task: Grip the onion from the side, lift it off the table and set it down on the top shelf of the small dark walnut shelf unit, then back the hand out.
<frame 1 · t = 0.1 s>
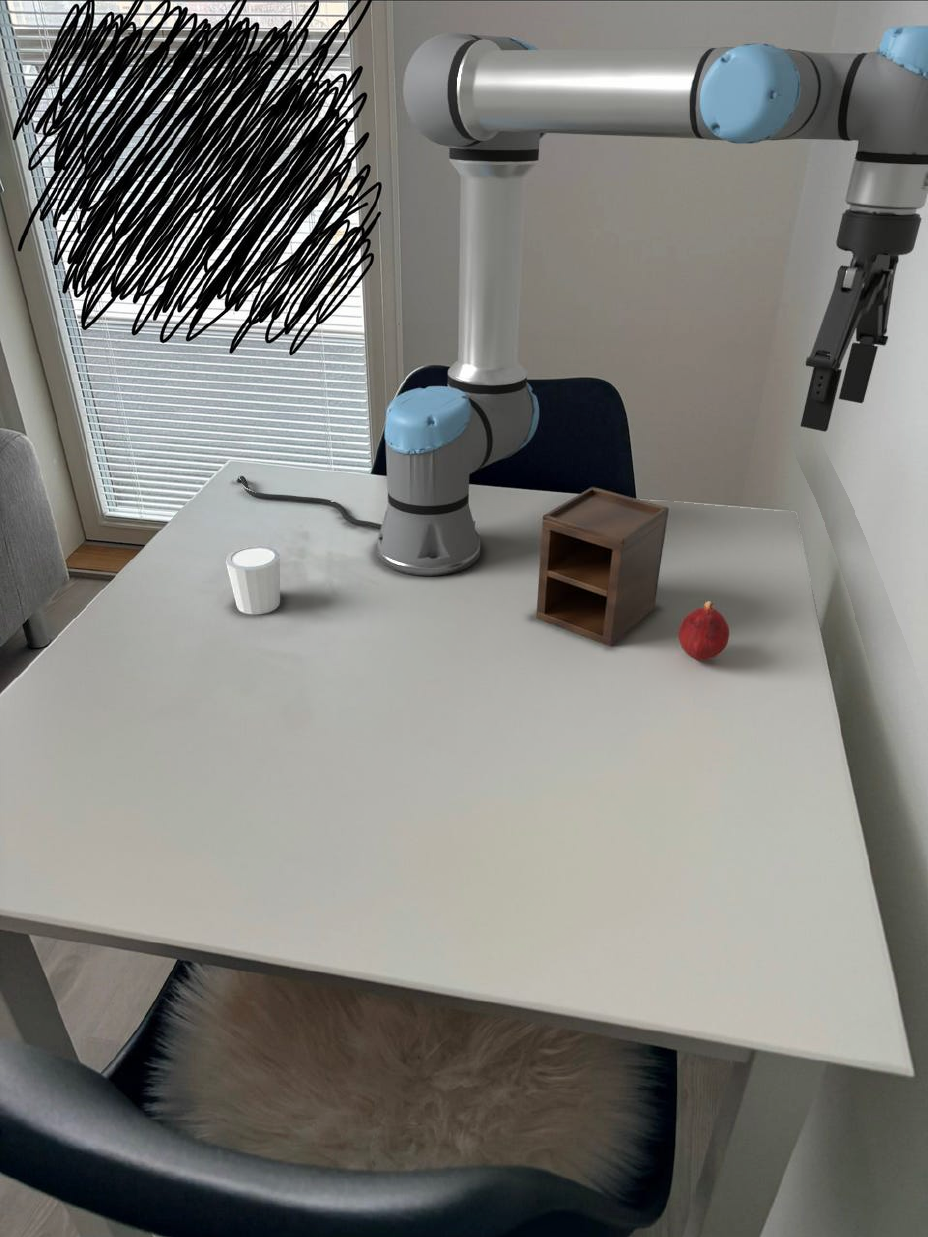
hand: (833, 414, 100), 28 cm above the table, tool pointing down, fingers open, 13 cm apart
shot glass: (258, 605, 117), on the table
shelf: (595, 613, 116), on the table
onion: (698, 661, 106), on the table
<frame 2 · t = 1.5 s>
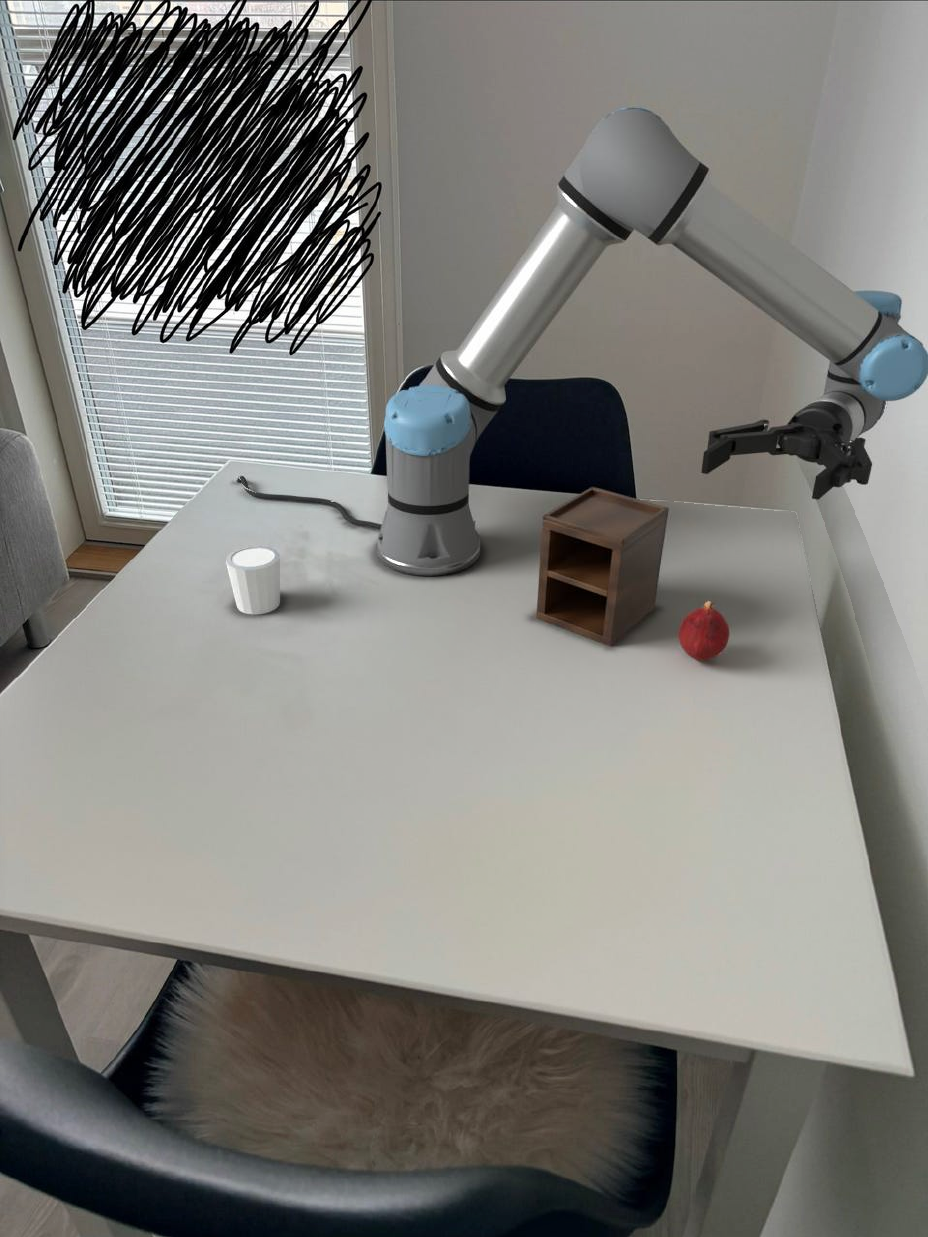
hand: (759, 475, 102), 21 cm above the table, tool horizontal, fingers open, 13 cm apart
nothing on the table moved.
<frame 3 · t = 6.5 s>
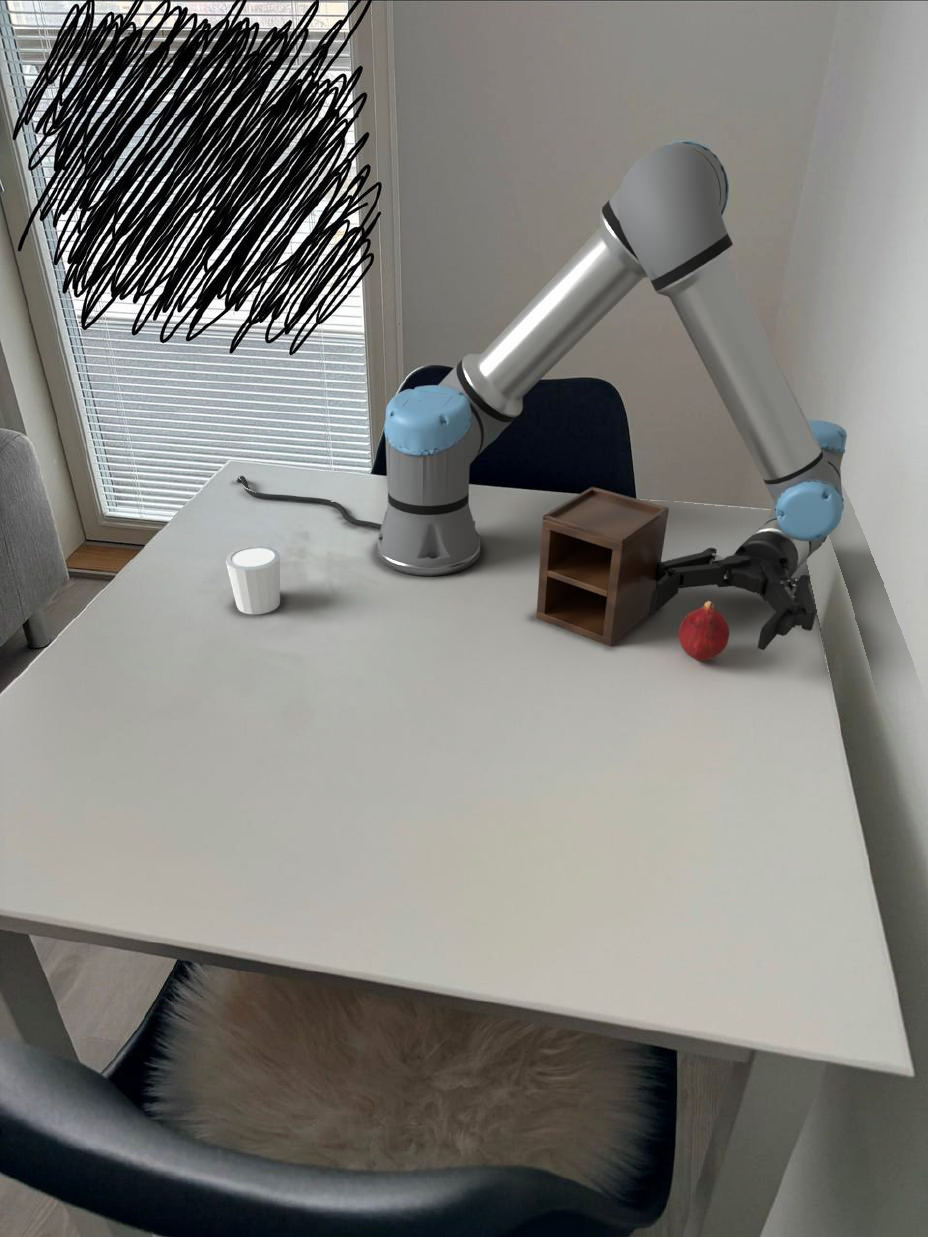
hand: (706, 620, 103), 6 cm above the table, tool horizontal, fingers open, 13 cm apart
nothing on the table moved.
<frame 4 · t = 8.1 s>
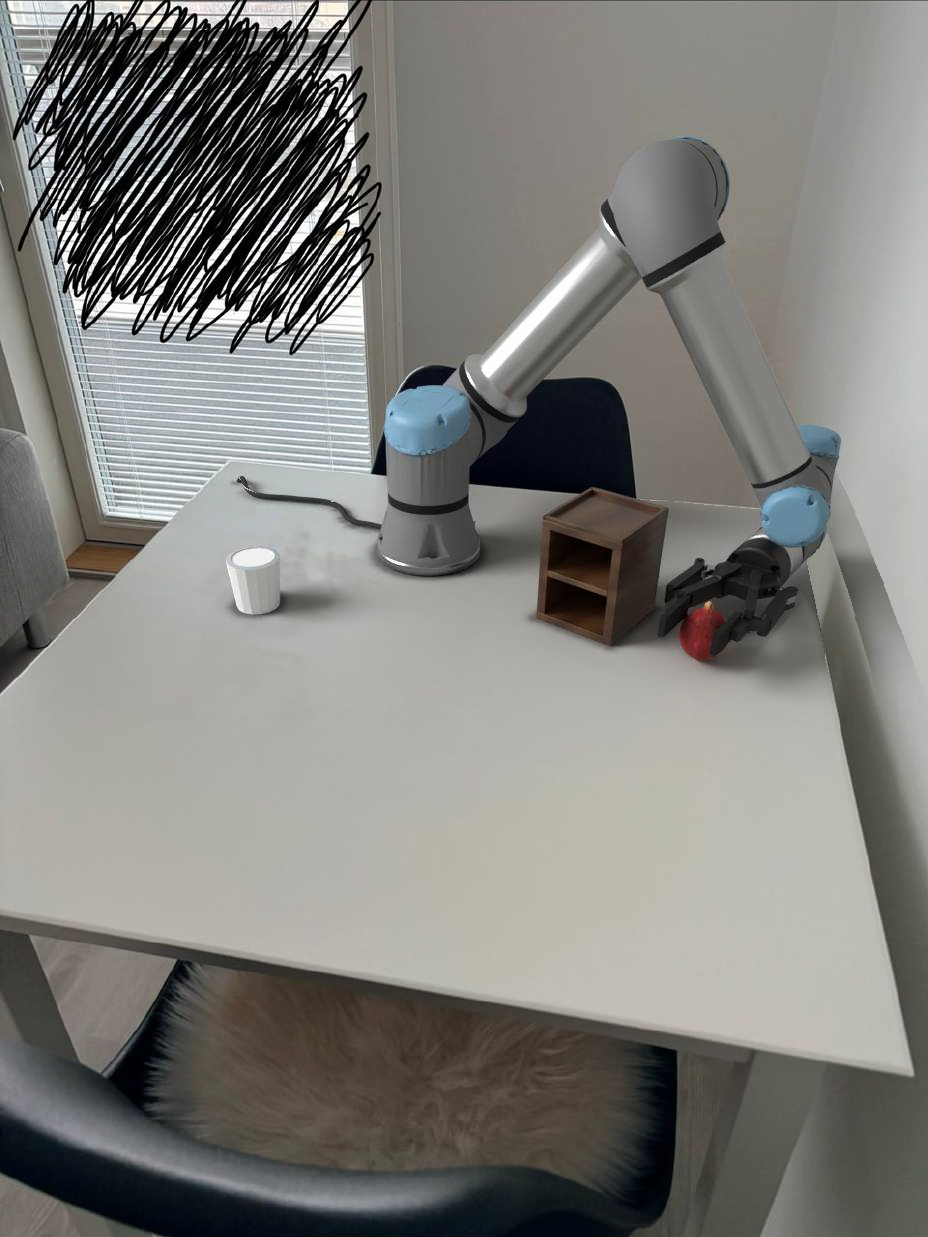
hand: (688, 635, 100), 6 cm above the table, tool horizontal, fingers closed on onion, 6 cm apart
onion: (698, 661, 106), on the table, touching gripper
everything else where it was.
when the fingers open (20 cm above the table, at t = 16.1 s): onion stays where it is, resting on shelf.
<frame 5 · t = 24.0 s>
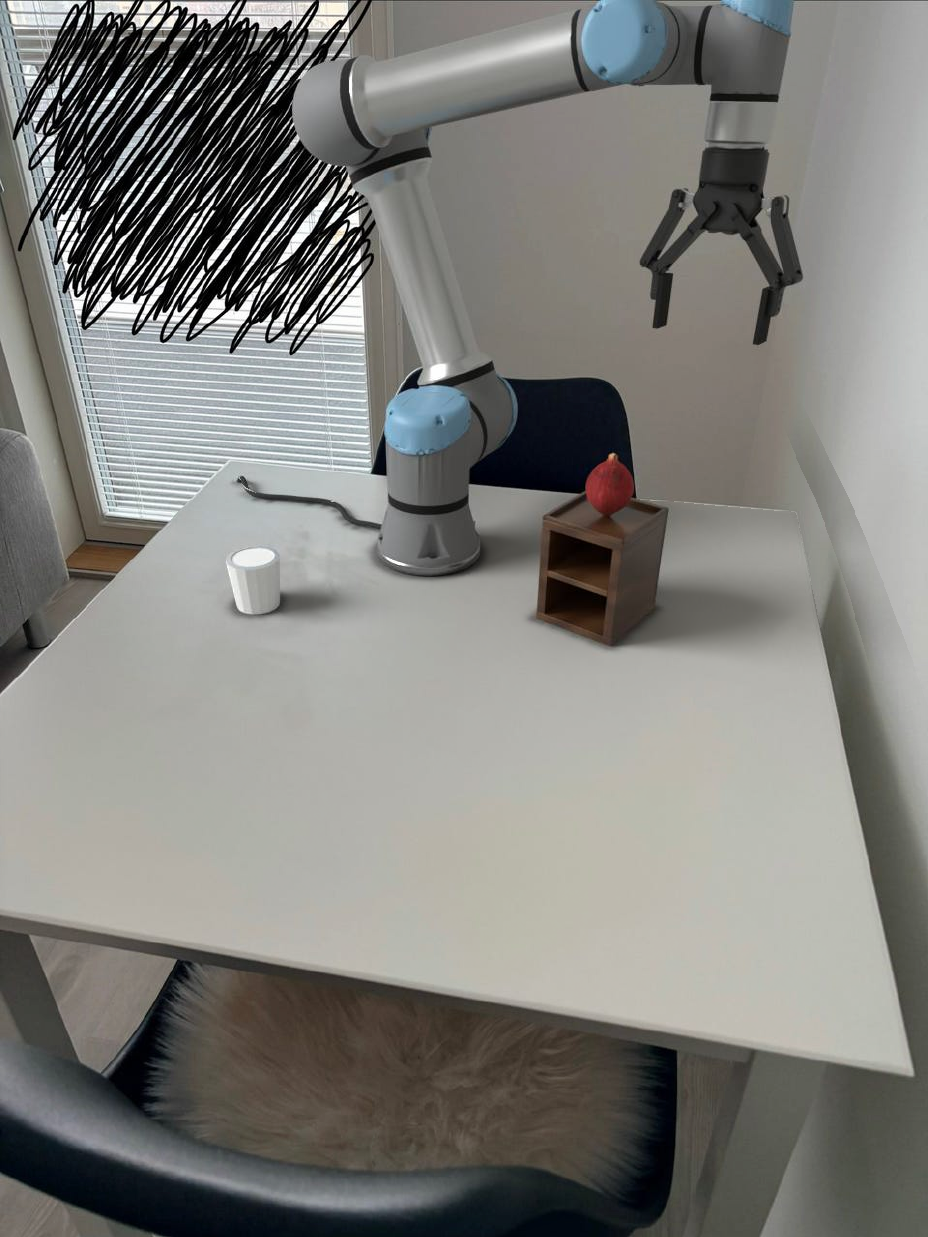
hand: (707, 334, 112), 33 cm above the table, tool pointing down, fingers open, 13 cm apart
onion: (606, 517, 109), point 14 cm above the table, touching shelf
everything else where it was.
at the end: onion inside the target area on the shelf (0.0 cm from its centre), point 13.8 cm above the shelf's base; onion touching shelf; the gripper is holding nothing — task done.
